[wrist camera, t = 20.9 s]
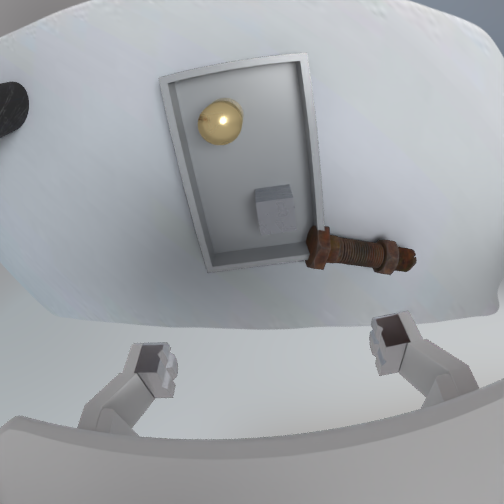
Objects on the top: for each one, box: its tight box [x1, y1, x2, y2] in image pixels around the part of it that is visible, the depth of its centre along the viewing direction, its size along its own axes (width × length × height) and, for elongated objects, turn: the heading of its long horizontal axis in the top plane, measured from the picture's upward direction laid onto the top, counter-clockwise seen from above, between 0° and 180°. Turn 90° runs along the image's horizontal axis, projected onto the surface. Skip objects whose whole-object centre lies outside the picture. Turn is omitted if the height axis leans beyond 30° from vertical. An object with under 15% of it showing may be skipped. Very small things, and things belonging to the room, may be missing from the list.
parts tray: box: [158, 53, 325, 273], centre depth 34 cm, size 15×24×4 cm, turn 9°
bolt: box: [305, 225, 416, 275], centre depth 39 cm, size 6×5×15 cm
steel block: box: [255, 184, 297, 235], centre depth 36 cm, size 4×4×4 cm
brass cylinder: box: [198, 98, 244, 145], centre depth 29 cm, size 4×4×6 cm
